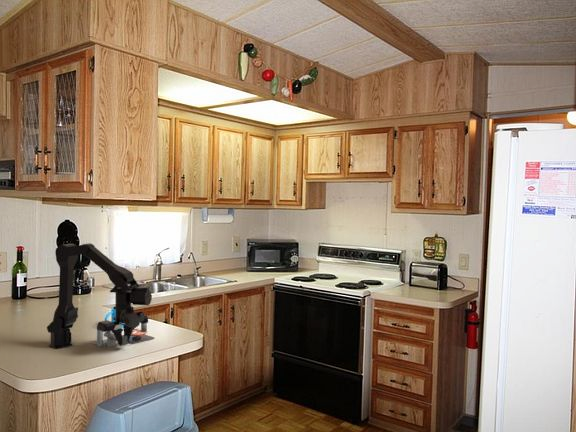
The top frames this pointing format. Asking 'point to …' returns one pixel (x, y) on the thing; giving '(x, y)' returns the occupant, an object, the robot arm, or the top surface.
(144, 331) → the handwheel
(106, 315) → the mug
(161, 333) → the top surface
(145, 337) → the wheel mount
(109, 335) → the hook rod
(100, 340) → the eye bracket
